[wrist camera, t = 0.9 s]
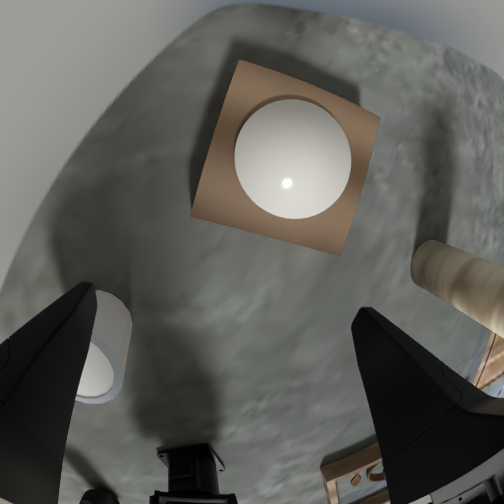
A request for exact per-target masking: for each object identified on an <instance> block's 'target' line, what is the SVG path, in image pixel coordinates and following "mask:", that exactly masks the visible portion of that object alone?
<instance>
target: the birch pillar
mask: <svg viewBox="0 0 504 504" xmlns="http://www.w3.org/2000/svg"><path fill="white" fill-rule="evenodd" d="M411 277H412V279H413V281H414V283H415V284H417V285H418V286H420V287H422V288H423V289H425V290H427V291H428V292H430V293H432V294H434V295H435V296H437V297H439V298H440V299H442V300H444V301H445V302H447V303H449V304H450V305H452V306H453V307H455V308H457V309H458V310H460V311H462V312H463V313H465V314H466V315H468V316H470V317H471V318H473V319H474V320H476V321H478V322H479V323H481V324H482V325H484V326H485V327H487V328H489V329H490V330H492V331H493V332H495V333H496V334H498V335H499V336H501V337H502V338H504V267H503V266H500V265H498V264H495V263H493V262H491V261H488V260H486V259H483V258H481V257H478V256H476V255H473V254H470V253H468V252H465V251H463V250H460V249H457V248H455V247H452V246H449V245H447V244H444V243H441V242H439V241H436V240H427V241H425V242H424V243H422V244H421V245H420V246H419V247H418V249H417V250H416V252H415V254H414V256H413V259H412V262H411Z"/></svg>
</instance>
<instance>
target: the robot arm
mask: <svg viewBox="0 0 504 504" xmlns="http://www.w3.org/2000/svg"><path fill="white" fill-rule="evenodd" d="M96 312H97V297H96V291H95V286H94V284H93V283H90V282H80V283H79V284H78V285H76V286H75V287H73V288H72V289H71V290H69V291H68V292H67V293H65V294H64V295H62V296H61V297H60V298H58V299H57V300H56V301H54V302H53V303H52V304H50V305H49V306H48V307H46V308H45V309H44V310H42V311H41V312H40V313H39V314H37V315H36V316H35V317H33V318H32V319H31V320H30V321H28V322H27V323H26V324H25V325H23V326H22V327H21V328H20V329H18V330H17V331H16V332H15V333H13V334H12V335H11V336H10V337H9V339H8V338H7V339H6V340H5V341H4V342H2V343H1V344H0V504H58V497H59V487H60V479H61V471H62V463H63V457H64V451H65V446H66V440H67V435H68V430H69V425H70V420H71V416H72V411H73V407H74V403H75V399H76V395H77V391H78V387H79V383H80V379H81V376H82V372H83V368H84V365H85V362H86V358H87V355H88V351H89V346H90V341H91V336H92V331H93V326H94V321H95V317H96ZM351 331H352V336H353V341H354V346H355V352H356V357H357V362H358V367H359V371H360V374H361V378H362V381H363V385H364V388H365V392H366V396H367V400H368V403H369V407H370V411H371V415H372V419H373V423H374V427H375V431H376V435H377V440H378V444H379V448H380V453H381V457H382V462H383V467H384V472H385V477H386V482H387V487H388V492H389V498H390V504H409V503H411V502H413V501H416V500H418V499H420V498H422V497H424V496H426V495H428V494H429V496H430V498H431V502H430V503H428V504H504V398H496V397H492V396H489V395H487V394H486V393H484V392H483V391H481V390H480V389H478V388H477V387H476V386H474V385H473V384H471V383H470V382H468V381H467V380H466V379H464V378H463V377H461V376H460V375H459V374H457V373H456V372H455V371H453V370H452V369H451V368H449V367H448V366H447V365H445V364H444V363H443V362H442V361H439V359H438V358H437V357H435V356H434V355H433V354H432V353H430V352H429V351H428V350H427V349H425V348H424V347H423V346H421V345H420V344H419V343H418V342H416V341H415V340H414V339H412V338H411V337H410V336H409V335H407V334H406V333H405V332H403V331H402V330H401V329H400V328H398V327H397V326H396V325H394V324H393V323H392V322H390V321H389V320H388V319H387V318H385V317H384V316H383V315H381V314H380V313H379V312H377V311H376V310H375V309H373V308H372V307H361V308H360V309H359V311H358V313H357V315H356V316H355V318H354V320H353V322H352V325H351ZM157 456H158V458H159V459H160V460H161V461H162V462H163V463H164V464H165V465H166V466H167V467H168V492H160V491H157V490H155V493H154V495H153V496H150V503H149V504H238V503H237V499H236V496H235V493H233V494H220V493H219V485H218V478H217V473H221V472H224V471H225V467H224V466H223V464H222V463H221V462H220V460H219V459H218V457H217V456H216V455H215V453H214V452H213V450H212V449H211V447H210V446H209V445H208V444H200V445H195V446H190V447H185V448H179V449H173V450H166V451H160V452H158V453H157Z"/></svg>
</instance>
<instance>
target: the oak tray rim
mask: <svg viewBox="0 0 504 504" xmlns="http://www.w3.org/2000/svg"><path fill="white" fill-rule="evenodd" d="M381 461H382V457H381V453H380V448H379V444H378V442H377V443H375V444H373V445H371V446H369V447H366V448H364V449H362V450H360V451H358V452H356V453H353V454H351V455H349V456H347V457H344V458H342V459H339V460H337V461H335V462H332V463H330V464H327V465H324V466H322V467H320V470H321V474H322V478H323V482H324V486H325V491H326V495H327V499H328V503H329V504H338V497H337V491H336V485H335V482H336V481H339V480H341V479H344V478H346V477H349V476H351V475H353V474H355V473H358V472H360V471H362V470H364V469H366V468H369V467H371V466H373V465H375V464H377V463H379V462H381ZM389 501H390V498H389V492H388V489H386V490H384V491H382V492H380V493H378V494H376V495H374V496H372V497H370V498H368V499H366V500H364V501H361V502H359V503H357V504H386V503H387V502H389Z"/></svg>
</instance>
